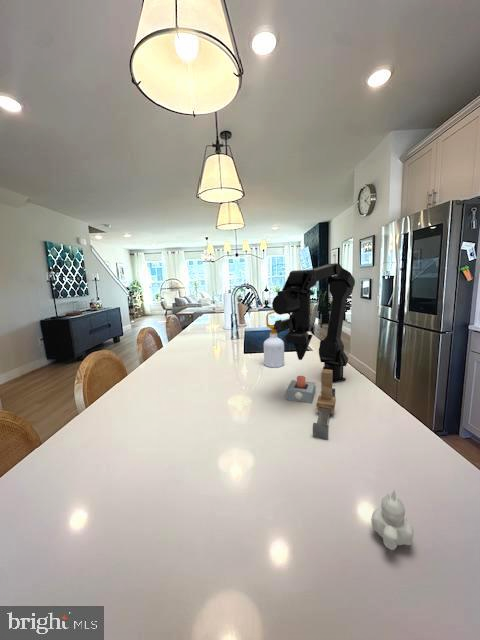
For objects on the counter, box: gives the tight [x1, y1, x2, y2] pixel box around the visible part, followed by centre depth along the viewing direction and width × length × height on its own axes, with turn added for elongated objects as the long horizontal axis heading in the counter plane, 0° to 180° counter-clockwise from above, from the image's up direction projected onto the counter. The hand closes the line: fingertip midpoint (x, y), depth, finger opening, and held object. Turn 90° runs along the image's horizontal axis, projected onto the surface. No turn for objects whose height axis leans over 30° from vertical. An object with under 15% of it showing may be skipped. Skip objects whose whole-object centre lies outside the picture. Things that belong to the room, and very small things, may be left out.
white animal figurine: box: [371, 489, 414, 551], centre depth 40 cm, size 5×7×8 cm
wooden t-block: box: [315, 368, 337, 415], centre depth 77 cm, size 5×5×11 cm
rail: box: [312, 387, 336, 441], centre depth 76 cm, size 24×4×3 cm, turn 156°
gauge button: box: [296, 375, 307, 389], centre depth 88 cm, size 3×3×4 cm
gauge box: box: [285, 379, 316, 404], centre depth 88 cm, size 8×8×4 cm
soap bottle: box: [263, 310, 285, 368], centre depth 118 cm, size 9×9×25 cm
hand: (301, 358), depth 86 cm, fingers open, 3 cm apart
